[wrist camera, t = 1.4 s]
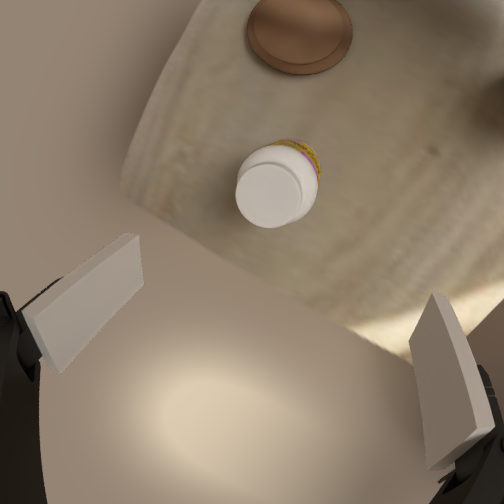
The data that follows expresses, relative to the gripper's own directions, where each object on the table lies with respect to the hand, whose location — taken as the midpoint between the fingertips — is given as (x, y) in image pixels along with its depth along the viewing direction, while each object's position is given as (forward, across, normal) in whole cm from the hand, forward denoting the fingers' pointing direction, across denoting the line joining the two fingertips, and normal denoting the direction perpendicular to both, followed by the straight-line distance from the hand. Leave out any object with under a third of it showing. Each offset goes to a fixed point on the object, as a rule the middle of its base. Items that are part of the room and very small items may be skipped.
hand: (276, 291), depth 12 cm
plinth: (+22, -3, +17) cm, 28 cm away
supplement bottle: (+22, -2, +1) cm, 22 cm away
